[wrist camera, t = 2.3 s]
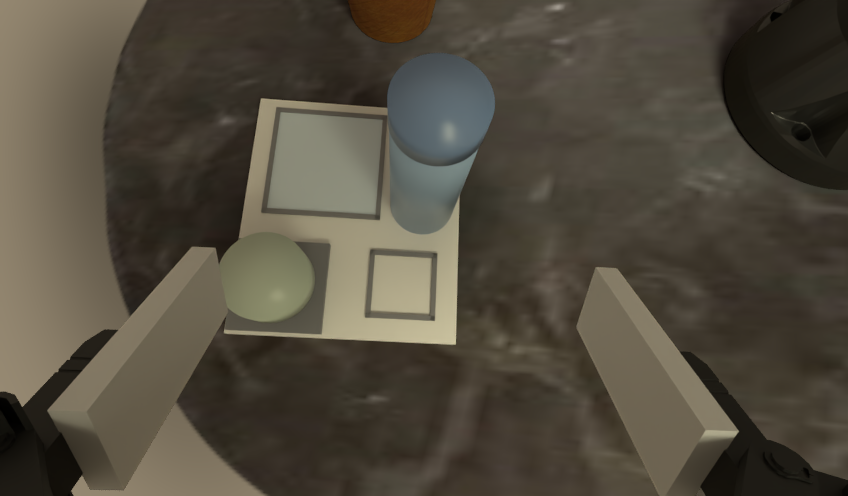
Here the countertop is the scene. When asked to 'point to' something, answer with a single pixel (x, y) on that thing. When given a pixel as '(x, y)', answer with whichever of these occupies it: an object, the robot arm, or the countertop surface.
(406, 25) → the disposable coffee cup
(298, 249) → the button
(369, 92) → the countertop surface
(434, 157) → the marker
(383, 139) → the sheet
